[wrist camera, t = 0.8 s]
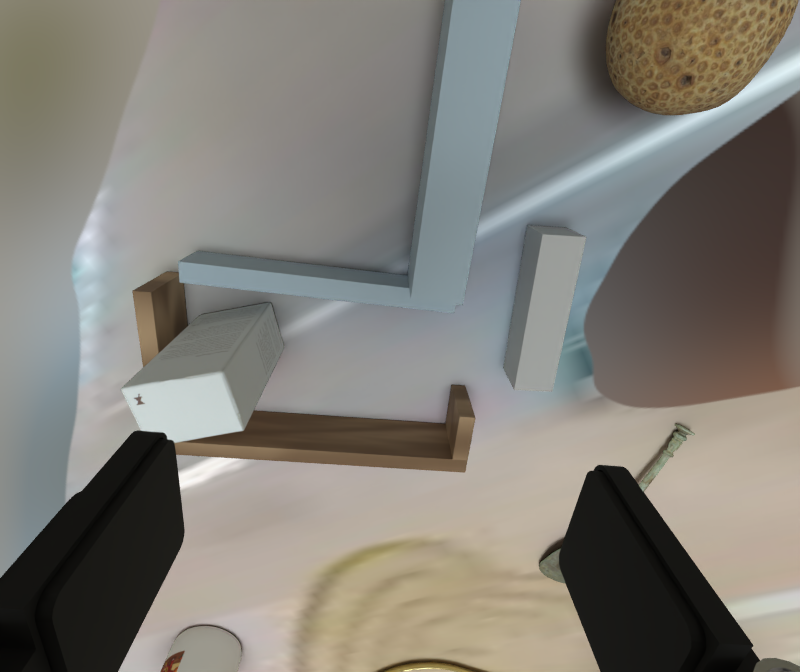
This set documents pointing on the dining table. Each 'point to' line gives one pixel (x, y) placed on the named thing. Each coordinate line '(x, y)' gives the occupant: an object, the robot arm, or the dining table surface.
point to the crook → (439, 186)
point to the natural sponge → (691, 50)
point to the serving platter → (428, 667)
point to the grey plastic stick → (542, 306)
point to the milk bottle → (204, 651)
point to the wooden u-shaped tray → (306, 433)
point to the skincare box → (208, 375)
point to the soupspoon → (552, 561)
